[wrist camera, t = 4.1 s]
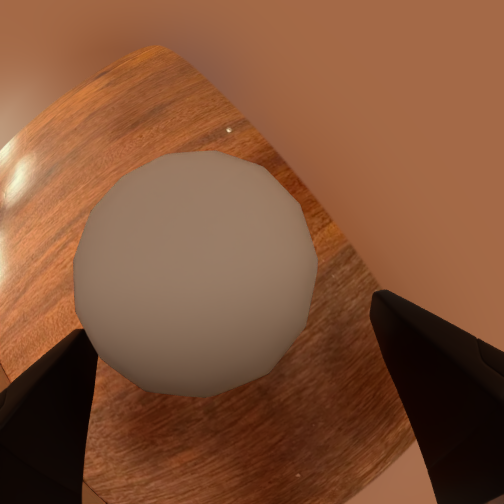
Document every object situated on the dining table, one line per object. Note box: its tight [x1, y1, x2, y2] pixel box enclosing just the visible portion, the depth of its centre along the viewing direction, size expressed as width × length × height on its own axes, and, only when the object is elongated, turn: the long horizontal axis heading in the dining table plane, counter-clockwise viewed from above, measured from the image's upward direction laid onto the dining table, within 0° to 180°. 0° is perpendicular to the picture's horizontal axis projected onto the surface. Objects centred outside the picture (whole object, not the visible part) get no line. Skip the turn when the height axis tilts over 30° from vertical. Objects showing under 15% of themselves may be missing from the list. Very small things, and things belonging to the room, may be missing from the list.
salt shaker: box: [73, 151, 318, 398], centre depth 10 cm, size 6×6×13 cm
